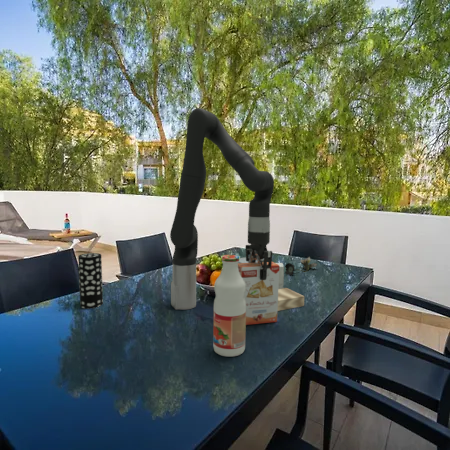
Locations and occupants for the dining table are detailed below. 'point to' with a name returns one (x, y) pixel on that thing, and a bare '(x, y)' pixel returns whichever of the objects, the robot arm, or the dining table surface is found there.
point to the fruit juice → (229, 309)
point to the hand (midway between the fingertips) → (257, 276)
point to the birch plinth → (289, 299)
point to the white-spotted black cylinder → (90, 280)
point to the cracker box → (260, 293)
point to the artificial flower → (291, 268)
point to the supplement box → (281, 275)
